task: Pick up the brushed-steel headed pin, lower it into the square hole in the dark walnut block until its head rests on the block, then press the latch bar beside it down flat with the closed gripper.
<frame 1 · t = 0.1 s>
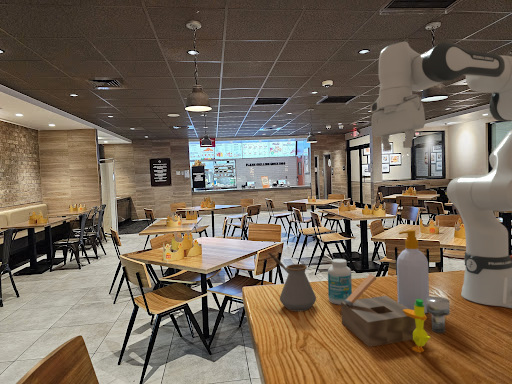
hand: (397, 149, 100), 48 cm above the table, tool pointing down, fingers open, 8 cm apart
latch bar: (360, 290, 93), point 10 cm above the table, hinge at 40.0°
walnut block: (378, 330, 90), on the table
pill bottle: (340, 302, 112), on the table
coffee pot: (288, 302, 113), on the table
toy figure: (417, 350, 79), on the table
steel pin: (438, 330, 88), on the table
soap bottle: (412, 309, 103), on the table
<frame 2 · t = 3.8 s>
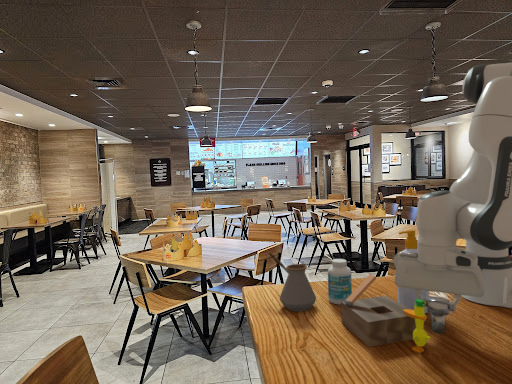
hand: (438, 308, 88), 6 cm above the table, tool pointing down, fingers closed on steel pin, 5 cm apart
steel pin: (438, 330, 88), on the table, touching gripper
everything else where it was.
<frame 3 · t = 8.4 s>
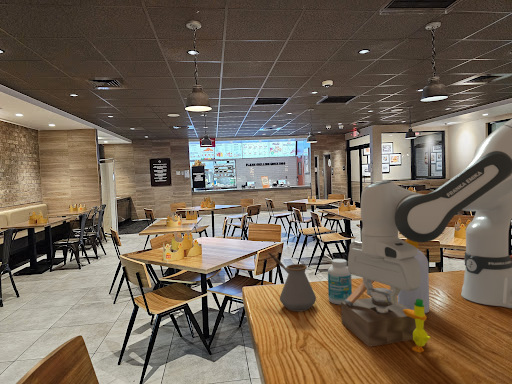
hand: (381, 298, 88), 9 cm above the table, tool pointing down, fingers closed on steel pin, 5 cm apart
latch bar: (360, 290, 93), point 10 cm above the table, hinge at 39.2°, touching gripper
steel pin: (382, 321, 88), point 3 cm above the table, touching gripper
everything else where it was.
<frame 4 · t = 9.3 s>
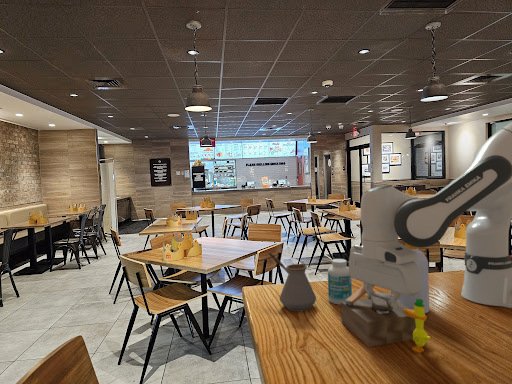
hand: (381, 303, 88), 8 cm above the table, tool pointing down, fingers closed on steel pin, 5 cm apart
latch bar: (361, 291, 93), point 9 cm above the table, hinge at 31.7°, touching gripper
steel pin: (382, 326, 88), point 2 cm above the table, touching gripper
everything else where it was.
when the fingers open (8 cm above the table, at t = 9.3 s): steel pin stays where it is, resting on walnut block.
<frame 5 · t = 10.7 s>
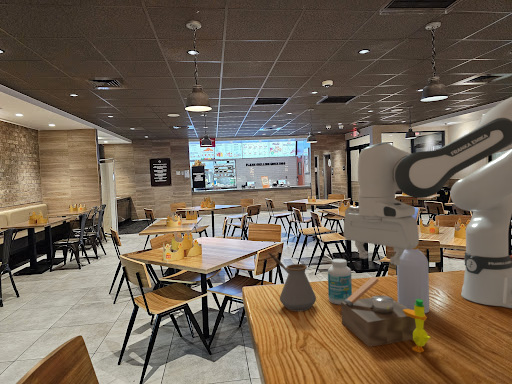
hand: (378, 261, 88), 19 cm above the table, tool pointing down, fingers open, 8 cm apart
latch bar: (361, 291, 93), point 9 cm above the table, hinge at 33.9°
steel pin: (383, 329, 88), point 1 cm above the table, touching walnut block
everything else where it was.
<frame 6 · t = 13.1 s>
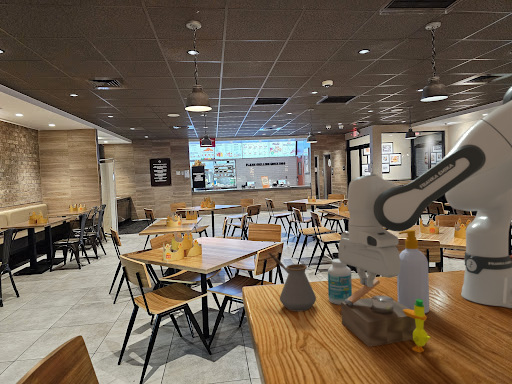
hand: (366, 285, 93), 11 cm above the table, tool pointing down, fingers closed, pressing on latch bar
latch bar: (362, 291, 93), point 9 cm above the table, hinge at 30.5°, touching gripper
everything else where it was.
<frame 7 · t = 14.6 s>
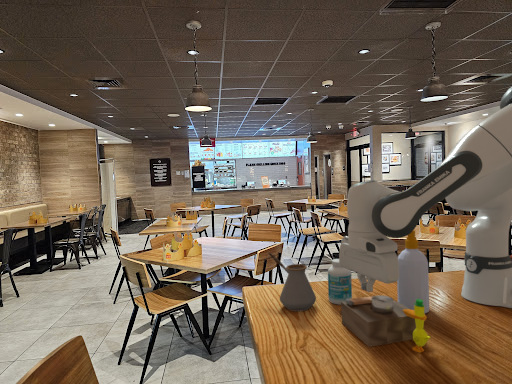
hand: (366, 290, 94), 9 cm above the table, tool pointing down, fingers closed
latch bar: (365, 300, 93), point 7 cm above the table, hinge at -1.5°
everything else where it was.
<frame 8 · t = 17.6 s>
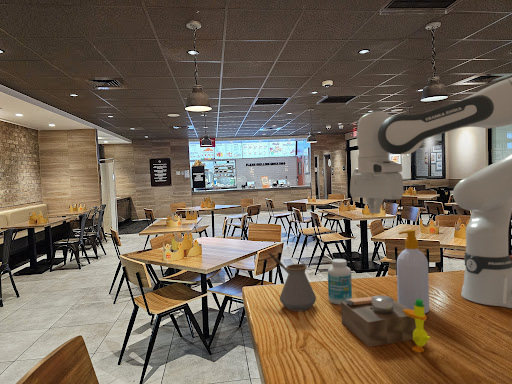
hand: (374, 213, 103), 29 cm above the table, tool pointing down, fingers closed
nothing on the table moved.
at the end: steel pin 0.5 cm from the target spot on the walnut block, point 1.0 cm above the walnut block's base; steel pin tilted 0°; latch bar at -2° (first picture: +40°) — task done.
